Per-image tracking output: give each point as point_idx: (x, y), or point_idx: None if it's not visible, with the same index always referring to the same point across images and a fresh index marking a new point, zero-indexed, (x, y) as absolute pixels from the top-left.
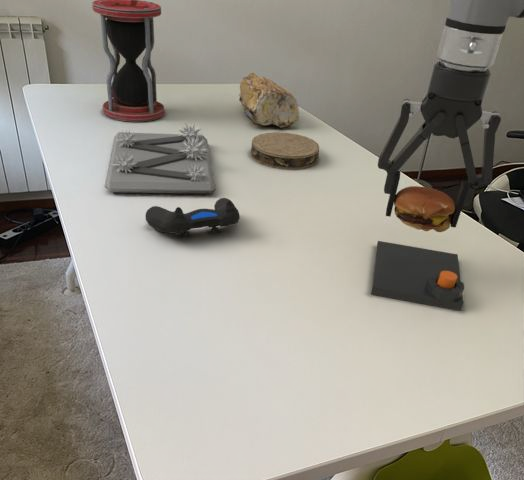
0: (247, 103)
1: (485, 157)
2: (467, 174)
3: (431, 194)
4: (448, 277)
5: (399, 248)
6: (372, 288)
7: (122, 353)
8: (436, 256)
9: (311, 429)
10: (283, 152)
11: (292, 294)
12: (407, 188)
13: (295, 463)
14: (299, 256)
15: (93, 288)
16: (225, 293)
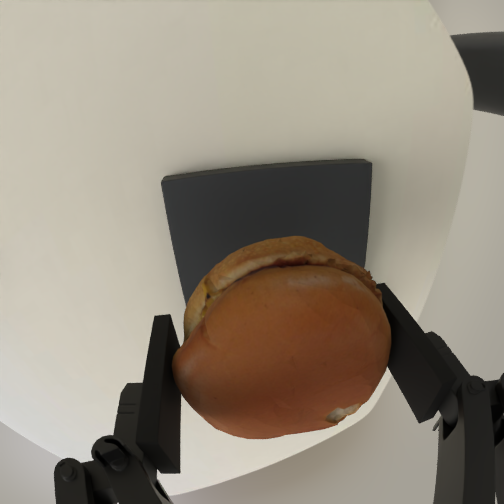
0: None
1: (496, 489)
2: (439, 456)
3: (312, 390)
4: None
5: (225, 198)
6: None
7: (60, 454)
8: (322, 197)
9: (209, 475)
10: None
11: (101, 384)
12: (211, 394)
13: (209, 484)
14: (46, 293)
15: None
16: (46, 397)
